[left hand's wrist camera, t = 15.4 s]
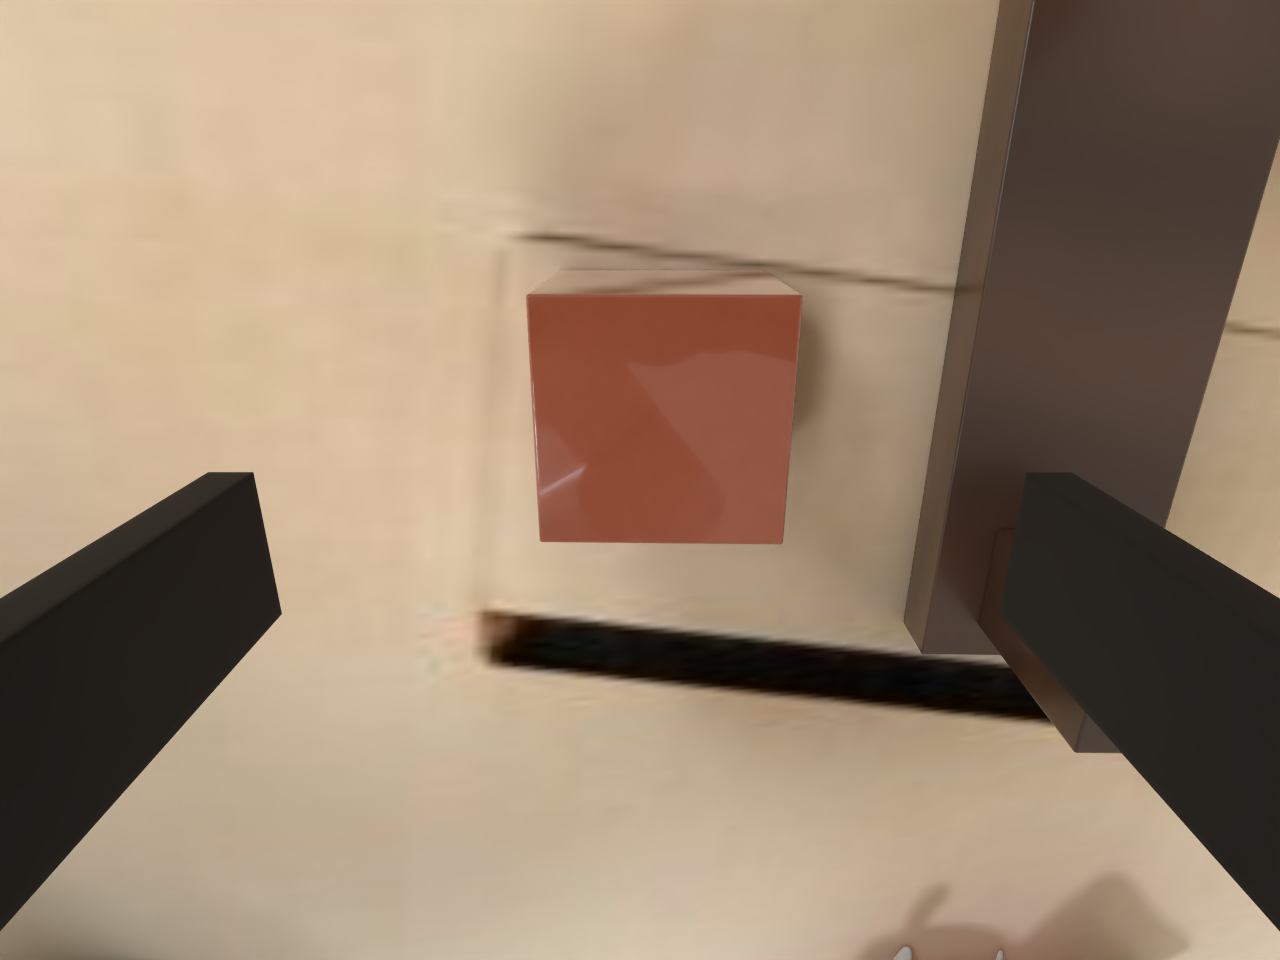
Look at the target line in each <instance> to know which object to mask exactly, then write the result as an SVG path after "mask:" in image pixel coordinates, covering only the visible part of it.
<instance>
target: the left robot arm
mask: <svg viewBox="0 0 1280 960" xmlns="http://www.w3.org/2000/svg"><path fill="white" fill-rule="evenodd" d="M281 614H282V612H281V608H280V603H279V598H278V593H277V588H276V583H275V578H274V573H273V568H272V563H271V558H270V553H269V548H268V543H267V538H266V533H265V528H264V523H263V518H262V513H261V508H260V503H259V498H258V493H257V488H256V483H255V479H254V474H253V472H208V473H206V474H205V475H203V476H201V477H200V478H198V479H196V480H195V481H193V482H192V483H190V484H188V485H187V486H185V487H183V488H182V489H180V490H178V491H177V492H175V493H173V494H172V495H170V496H168V497H167V498H165V499H164V500H162V501H160V502H159V503H157V504H155V505H154V506H152V507H150V508H149V509H147V510H145V511H144V512H142V513H140V514H139V515H137V516H136V517H134V518H132V519H131V520H129V521H127V522H126V523H124V524H122V525H121V526H119V527H117V528H116V529H114V530H112V531H111V532H109V533H108V534H106V535H104V536H103V537H101V538H99V539H98V540H96V541H94V542H93V543H91V544H89V545H88V546H86V547H84V548H83V549H81V550H80V551H78V552H76V553H75V554H73V555H71V556H70V557H68V558H66V559H65V560H63V561H61V562H60V563H58V564H56V565H55V566H53V567H52V568H50V569H48V570H47V571H45V572H43V573H42V574H40V575H38V576H37V577H35V578H33V579H32V580H30V581H29V582H27V583H25V584H24V585H22V586H20V587H19V588H17V589H15V590H14V591H12V592H10V593H9V594H7V595H5V596H4V597H2V598H1V599H0V931H1V930H2V929H3V927H4V926H5V925H6V924H7V923H8V922H9V921H10V920H11V918H12V917H13V916H14V915H15V914H16V913H17V912H18V911H19V909H20V908H21V907H22V906H23V905H24V904H25V903H26V902H27V900H28V899H29V898H30V897H31V896H32V895H33V894H34V893H35V891H36V890H37V889H38V888H39V887H40V886H41V885H42V884H43V882H44V881H45V880H46V879H47V878H48V877H49V876H50V874H51V873H52V872H53V871H54V870H55V869H56V868H57V867H58V865H59V864H60V863H61V862H62V861H63V860H64V859H65V858H66V856H67V855H68V854H69V853H70V852H71V851H72V850H73V849H74V847H75V846H76V845H77V844H78V843H79V842H80V841H81V840H82V838H83V837H84V836H85V835H86V834H87V833H88V832H89V831H90V829H91V828H92V827H93V826H94V825H95V824H96V823H97V822H98V820H99V819H100V818H101V817H102V816H103V815H104V814H105V813H106V811H107V810H108V809H109V808H110V807H111V806H112V805H113V803H114V802H115V801H116V800H117V799H118V798H119V797H120V796H121V794H122V793H123V792H124V791H125V790H126V789H127V788H128V787H129V785H130V784H131V783H132V782H133V781H134V780H135V779H136V778H137V776H138V775H139V774H140V773H141V772H142V771H143V770H144V769H145V767H146V766H147V765H148V764H149V763H150V762H151V761H152V760H153V758H154V757H155V756H156V755H157V754H158V753H159V752H160V751H161V749H162V748H163V747H164V746H165V745H166V744H167V743H168V742H169V740H170V739H171V738H172V737H173V736H174V735H175V734H176V732H177V731H178V730H179V729H180V728H181V727H182V726H183V725H184V723H185V722H186V721H187V720H188V719H189V718H190V717H191V716H192V714H193V713H194V712H195V711H196V710H197V709H198V708H199V707H200V705H201V704H202V703H203V702H204V701H205V700H206V699H207V698H208V696H209V695H210V694H211V693H212V692H213V691H214V690H215V689H216V687H217V686H218V685H219V684H220V683H221V682H222V681H223V680H224V678H225V677H226V676H227V675H228V674H229V673H230V672H231V671H232V669H233V668H234V667H235V666H236V665H237V664H238V663H239V661H240V660H241V659H242V658H243V657H244V656H245V655H246V654H247V652H248V651H249V650H250V649H251V648H252V647H253V646H254V645H255V643H256V642H257V641H258V640H259V639H260V638H261V637H262V636H263V634H264V633H265V632H266V631H267V630H268V629H269V628H270V627H271V625H272V624H273V623H274V622H275V621H276V620H277V619H278V618H279V616H280V615H281ZM998 614H999V615H1000V616H1001V618H1002V619H1003V620H1004V621H1005V622H1006V623H1007V624H1008V625H1009V627H1010V628H1011V629H1012V630H1013V631H1014V632H1015V633H1016V634H1017V636H1018V637H1019V638H1020V639H1021V640H1022V641H1023V642H1024V643H1025V645H1026V646H1027V647H1028V648H1029V649H1030V650H1031V651H1032V652H1033V654H1034V655H1035V656H1036V657H1037V658H1038V659H1039V660H1040V661H1041V663H1042V664H1043V665H1044V666H1045V667H1046V668H1047V669H1048V671H1049V672H1050V673H1051V674H1052V675H1053V676H1054V677H1055V678H1056V680H1057V681H1058V682H1059V683H1060V684H1061V685H1062V686H1063V687H1064V689H1065V690H1066V691H1067V692H1068V693H1069V694H1070V695H1071V696H1072V698H1073V699H1074V700H1075V701H1076V702H1077V703H1078V704H1079V705H1080V707H1081V708H1082V709H1083V710H1084V711H1085V712H1086V713H1087V714H1088V716H1089V717H1090V718H1091V719H1092V720H1093V721H1094V722H1095V723H1096V725H1097V726H1098V727H1099V728H1100V729H1101V730H1102V731H1103V732H1104V734H1105V735H1106V736H1107V737H1108V738H1109V739H1110V740H1111V742H1112V743H1113V744H1114V745H1115V746H1116V747H1117V748H1118V749H1119V751H1120V752H1121V753H1122V754H1123V755H1124V756H1125V757H1126V758H1127V760H1128V761H1129V762H1130V763H1131V764H1132V765H1133V766H1134V767H1135V769H1136V770H1137V771H1138V772H1139V773H1140V774H1141V775H1142V776H1143V778H1144V779H1145V780H1146V781H1147V782H1148V783H1149V784H1150V785H1151V787H1152V788H1153V789H1154V790H1155V791H1156V792H1157V793H1158V794H1159V796H1160V797H1161V798H1162V799H1163V800H1164V801H1165V802H1166V803H1167V805H1168V806H1169V807H1170V808H1171V809H1172V810H1173V811H1174V813H1175V814H1176V815H1177V816H1178V817H1179V818H1180V819H1181V820H1182V822H1183V823H1184V824H1185V825H1186V826H1187V827H1188V828H1189V829H1190V831H1191V832H1192V833H1193V834H1194V835H1195V836H1196V837H1197V838H1198V840H1199V841H1200V842H1201V843H1202V844H1203V845H1204V846H1205V847H1206V849H1207V850H1208V851H1209V852H1210V853H1211V854H1212V855H1213V856H1214V858H1215V859H1216V860H1217V861H1218V862H1219V863H1220V864H1221V865H1222V867H1223V868H1224V869H1225V870H1226V871H1227V872H1228V873H1229V875H1230V876H1231V877H1232V878H1233V879H1234V880H1235V881H1236V882H1237V884H1238V885H1239V886H1240V887H1241V888H1242V889H1243V890H1244V891H1245V893H1246V894H1247V895H1248V896H1249V897H1250V898H1251V899H1252V900H1253V902H1254V903H1255V904H1256V905H1257V906H1258V907H1259V908H1260V909H1261V911H1262V912H1263V913H1264V914H1265V915H1266V916H1267V917H1268V918H1269V920H1270V921H1271V922H1272V923H1273V924H1274V925H1275V926H1276V927H1277V929H1278V930H1279V931H1280V599H1279V598H1278V597H1276V596H1275V595H1273V594H1271V593H1270V592H1268V591H1266V590H1265V589H1263V588H1261V587H1260V586H1258V585H1256V584H1255V583H1253V582H1251V581H1250V580H1248V579H1247V578H1245V577H1243V576H1242V575H1240V574H1238V573H1237V572H1235V571H1233V570H1232V569H1230V568H1228V567H1227V566H1225V565H1224V564H1222V563H1220V562H1219V561H1217V560H1215V559H1214V558H1212V557H1210V556H1209V555H1207V554H1205V553H1204V552H1202V551H1200V550H1199V549H1197V548H1196V547H1194V546H1192V545H1191V544H1189V543H1187V542H1186V541H1184V540H1182V539H1181V538H1179V537H1177V536H1176V535H1174V534H1172V533H1171V532H1169V531H1168V530H1166V529H1164V528H1163V527H1161V526H1159V525H1158V524H1156V523H1154V522H1153V521H1151V520H1149V519H1148V518H1146V517H1144V516H1143V515H1141V514H1140V513H1138V512H1136V511H1135V510H1133V509H1131V508H1130V507H1128V506H1126V505H1125V504H1123V503H1121V502H1120V501H1118V500H1116V499H1115V498H1113V497H1112V496H1110V495H1108V494H1107V493H1105V492H1103V491H1102V490H1100V489H1098V488H1097V487H1095V486H1093V485H1092V484H1090V483H1088V482H1087V481H1085V480H1084V479H1082V478H1080V477H1079V476H1077V475H1075V474H1074V473H1072V472H1027V474H1026V478H1025V483H1024V488H1023V493H1022V498H1021V503H1020V508H1019V513H1018V518H1017V523H1016V528H1015V533H1014V538H1013V543H1012V548H1011V553H1010V558H1009V563H1008V568H1007V573H1006V578H1005V583H1004V588H1003V593H1002V598H1001V603H1000V607H999V612H998Z"/></svg>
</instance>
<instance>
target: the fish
mask: <svg viewBox="0 0 1280 960" xmlns="http://www.w3.org/2000/svg"><path fill="white" fill-rule="evenodd" d="M893 960H913V958H912V951H911V949H910V948H908V947H903V948H902V949H901V950H900V951H899V952H898V953H897V955H896V956H895V958H894V959H893ZM996 960H1004V958H1003V952H1002V951H1001V950H999V951H998V955H997V958H996Z"/></svg>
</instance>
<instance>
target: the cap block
mask: <svg viewBox="0 0 1280 960" xmlns="http://www.w3.org/2000/svg"><path fill="white" fill-rule="evenodd" d="M802 301H803V297H802V295H801V294H799V293H798V292H796V291H795V290H793V289H792V288H790V287H789V286H787V285H786V284H784V283H783V282H781V281H780V280H779V279H777V278H776V277H774V276H773V275H771V274H770V273H768V272H767V271H765V270H559V271H557V272H556V273H555V274H553V275H552V276H551V277H549V278H548V279H547V280H545V281H544V282H543V283H541V284H540V285H539V286H537V287H536V288H535V289H533V290H532V291H531V292H530V293H528V294H527V295H526V305H527V323H528V341H529V358H530V376H531V394H532V412H533V429H534V447H535V465H536V483H537V500H538V518H539V536H540V541H541V542H601V543H703V544H782V542H783V534H784V521H785V509H786V497H787V485H788V472H789V460H790V448H791V436H792V424H793V411H794V399H795V387H796V375H797V362H798V350H799V338H800V326H801V314H802Z"/></svg>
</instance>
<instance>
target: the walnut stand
mask: <svg viewBox="0 0 1280 960" xmlns="http://www.w3.org/2000/svg"><path fill="white" fill-rule="evenodd" d="M1279 139H1280V0H1001V1H1000V7H999V13H998V20H997V26H996V33H995V39H994V46H993V52H992V58H991V65H990V71H989V78H988V84H987V90H986V97H985V103H984V110H983V116H982V123H981V129H980V135H979V142H978V148H977V155H976V161H975V168H974V174H973V180H972V187H971V193H970V200H969V206H968V212H967V219H966V225H965V232H964V238H963V245H962V251H961V257H960V264H959V270H958V277H957V283H956V290H955V296H954V302H953V309H952V315H951V322H950V328H949V334H948V341H947V347H946V354H945V360H944V367H943V373H942V379H941V386H940V392H939V399H938V405H937V412H936V418H935V424H934V431H933V437H932V444H931V450H930V456H929V463H928V469H927V476H926V482H925V489H924V495H923V501H922V508H921V514H920V521H919V527H918V534H917V540H916V546H915V553H914V559H913V566H912V572H911V578H910V585H909V591H908V598H907V604H906V611H905V617H904V624H905V626H906V627H907V629H908V631H909V632H910V634H911V636H912V638H913V639H914V641H915V643H916V644H917V646H918V648H919V650H920V651H921V653H922V654H977V655H1001V656H1002V657H1003V658H1004V660H1005V661H1006V662H1007V664H1008V665H1009V666H1010V667H1011V669H1012V670H1013V671H1014V673H1015V674H1016V675H1017V677H1018V678H1019V679H1020V681H1021V682H1022V683H1023V685H1024V686H1025V687H1026V689H1027V690H1028V691H1029V693H1030V694H1031V695H1032V697H1033V698H1034V699H1035V701H1036V702H1037V703H1038V704H1039V706H1040V707H1041V708H1042V710H1043V711H1044V712H1045V714H1046V715H1047V716H1048V718H1049V719H1050V720H1051V722H1052V723H1053V724H1054V726H1055V727H1056V728H1057V730H1058V731H1059V732H1060V734H1061V735H1062V736H1063V738H1064V739H1065V740H1066V741H1067V743H1068V744H1069V745H1070V747H1071V748H1072V749H1073V751H1074V752H1076V753H1121V752H1120V751H1119V749H1118V748H1117V747H1116V746H1115V745H1114V744H1113V743H1112V742H1111V740H1110V739H1109V738H1108V737H1107V736H1106V735H1105V734H1104V732H1103V731H1102V730H1101V729H1100V728H1099V727H1098V726H1097V725H1096V723H1095V722H1094V721H1093V720H1092V719H1091V718H1090V717H1089V716H1088V714H1087V713H1086V712H1085V711H1084V710H1083V709H1082V708H1081V707H1080V705H1079V704H1078V703H1077V702H1076V701H1075V700H1074V699H1073V698H1072V696H1071V695H1070V694H1069V693H1068V692H1067V691H1066V690H1065V689H1064V687H1063V686H1062V685H1061V684H1060V683H1059V682H1058V681H1057V680H1056V678H1055V677H1054V676H1053V675H1052V674H1051V673H1050V672H1049V671H1048V669H1047V668H1046V667H1045V666H1044V665H1043V664H1042V663H1041V661H1040V660H1039V659H1038V658H1037V657H1036V656H1035V655H1034V654H1033V652H1032V651H1031V650H1030V649H1029V648H1028V647H1027V646H1026V645H1025V643H1024V642H1023V641H1022V640H1021V639H1020V638H1019V637H1018V636H1017V634H1016V633H1015V632H1014V631H1013V630H1012V629H1011V628H1010V627H1009V625H1008V624H1007V623H1006V622H1005V621H1004V620H1003V619H1002V618H1001V616H1000V615H999V614H998V612H999V607H1000V603H1001V598H1002V593H1003V588H1004V583H1005V578H1006V573H1007V568H1008V563H1009V558H1010V553H1011V548H1012V543H1013V538H1014V533H1015V528H1016V523H1017V518H1018V513H1019V508H1020V503H1021V498H1022V493H1023V488H1024V483H1025V478H1026V474H1027V472H1072V473H1074V474H1075V475H1077V476H1079V477H1080V478H1082V479H1084V480H1085V481H1087V482H1088V483H1090V484H1092V485H1093V486H1095V487H1097V488H1098V489H1100V490H1102V491H1103V492H1105V493H1107V494H1108V495H1110V496H1112V497H1113V498H1115V499H1116V500H1118V501H1120V502H1121V503H1123V504H1125V505H1126V506H1128V507H1130V508H1131V509H1133V510H1135V511H1136V512H1138V513H1140V514H1141V515H1143V516H1144V517H1146V518H1148V519H1149V520H1151V521H1153V522H1154V523H1156V524H1158V525H1159V526H1161V527H1163V528H1164V529H1165V526H1166V522H1167V519H1168V516H1169V512H1170V509H1171V505H1172V502H1173V499H1174V495H1175V492H1176V488H1177V485H1178V482H1179V478H1180V475H1181V471H1182V468H1183V465H1184V461H1185V458H1186V454H1187V451H1188V448H1189V444H1190V441H1191V437H1192V434H1193V431H1194V427H1195V424H1196V421H1197V417H1198V414H1199V410H1200V407H1201V404H1202V400H1203V397H1204V393H1205V390H1206V387H1207V383H1208V380H1209V376H1210V373H1211V370H1212V366H1213V363H1214V359H1215V356H1216V353H1217V349H1218V346H1219V342H1220V339H1221V336H1222V332H1223V329H1224V326H1225V322H1226V319H1227V315H1228V312H1229V309H1230V305H1231V302H1232V298H1233V295H1234V292H1235V288H1236V285H1237V281H1238V278H1239V275H1240V271H1241V268H1242V264H1243V261H1244V258H1245V254H1246V251H1247V247H1248V244H1249V241H1250V237H1251V234H1252V231H1253V227H1254V224H1255V220H1256V217H1257V214H1258V210H1259V207H1260V203H1261V200H1262V197H1263V193H1264V190H1265V186H1266V183H1267V180H1268V176H1269V173H1270V169H1271V166H1272V163H1273V159H1274V156H1275V152H1276V149H1277V146H1278V142H1279Z"/></svg>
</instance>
